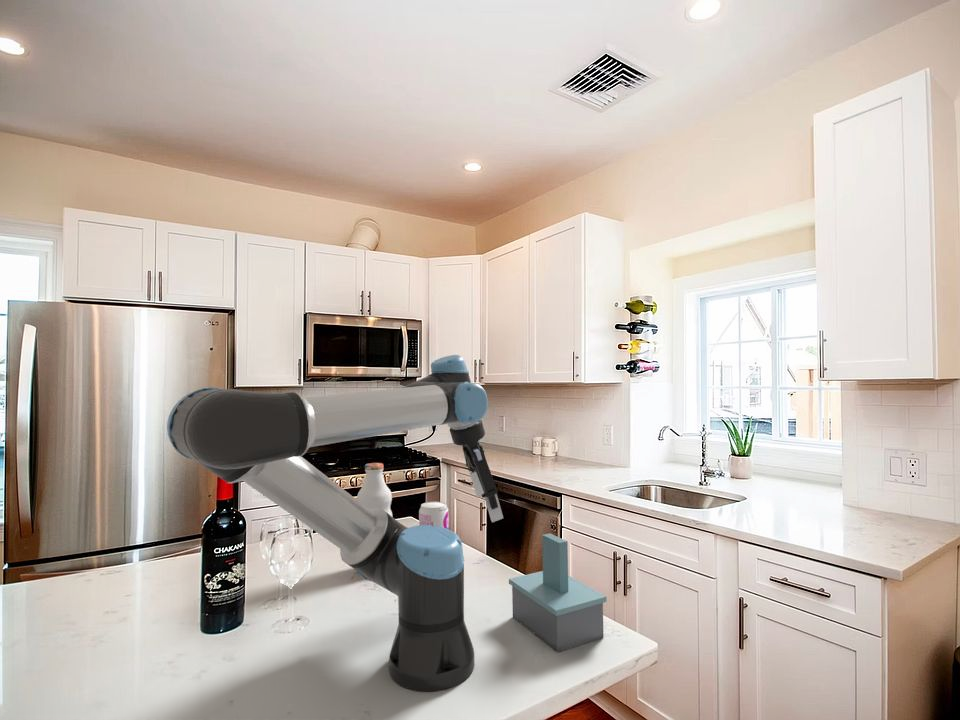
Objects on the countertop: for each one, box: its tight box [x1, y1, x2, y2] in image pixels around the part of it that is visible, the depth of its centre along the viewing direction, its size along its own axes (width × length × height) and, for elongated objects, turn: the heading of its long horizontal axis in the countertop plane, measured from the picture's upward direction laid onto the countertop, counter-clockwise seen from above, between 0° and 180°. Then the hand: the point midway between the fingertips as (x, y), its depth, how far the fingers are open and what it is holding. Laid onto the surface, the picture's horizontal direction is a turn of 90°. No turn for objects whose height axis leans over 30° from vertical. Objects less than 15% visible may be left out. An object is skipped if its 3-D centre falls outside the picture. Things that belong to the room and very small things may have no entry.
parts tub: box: [511, 585, 604, 653], centre depth 106 cm, size 16×11×7 cm
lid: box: [508, 533, 607, 616], centre depth 107 cm, size 17×12×11 cm
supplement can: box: [418, 501, 450, 530], centre depth 147 cm, size 8×8×15 cm
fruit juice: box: [356, 462, 393, 517], centre depth 139 cm, size 9×9×28 cm
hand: (489, 507), depth 121 cm, fingers open, 13 cm apart
